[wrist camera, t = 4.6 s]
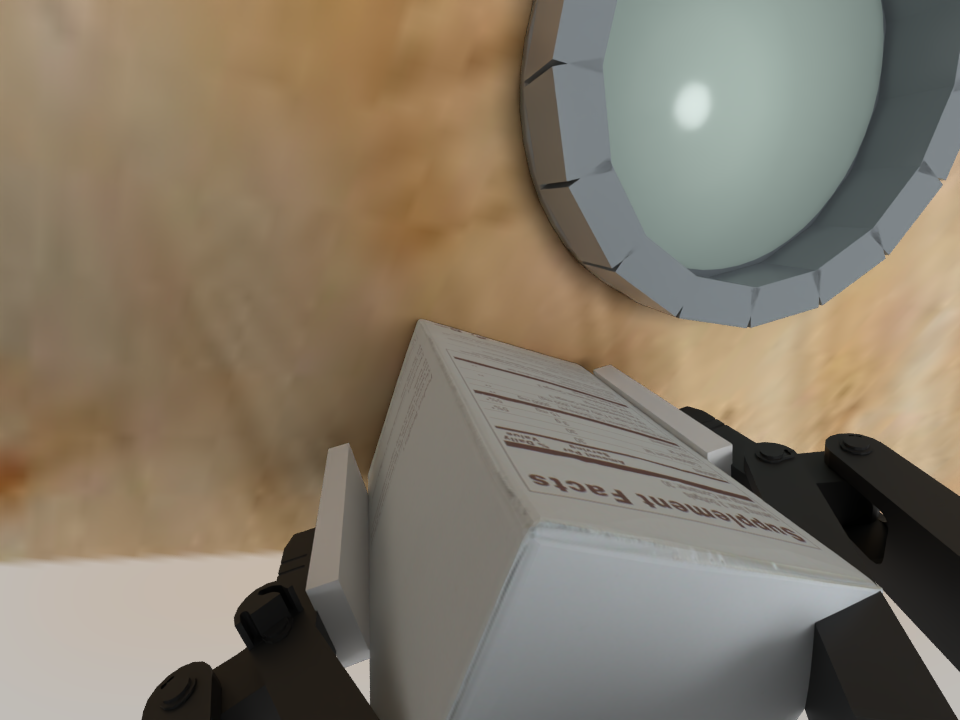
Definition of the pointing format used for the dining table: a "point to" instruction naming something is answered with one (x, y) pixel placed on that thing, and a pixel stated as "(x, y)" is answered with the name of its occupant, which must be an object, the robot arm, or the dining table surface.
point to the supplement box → (574, 555)
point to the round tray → (738, 142)
